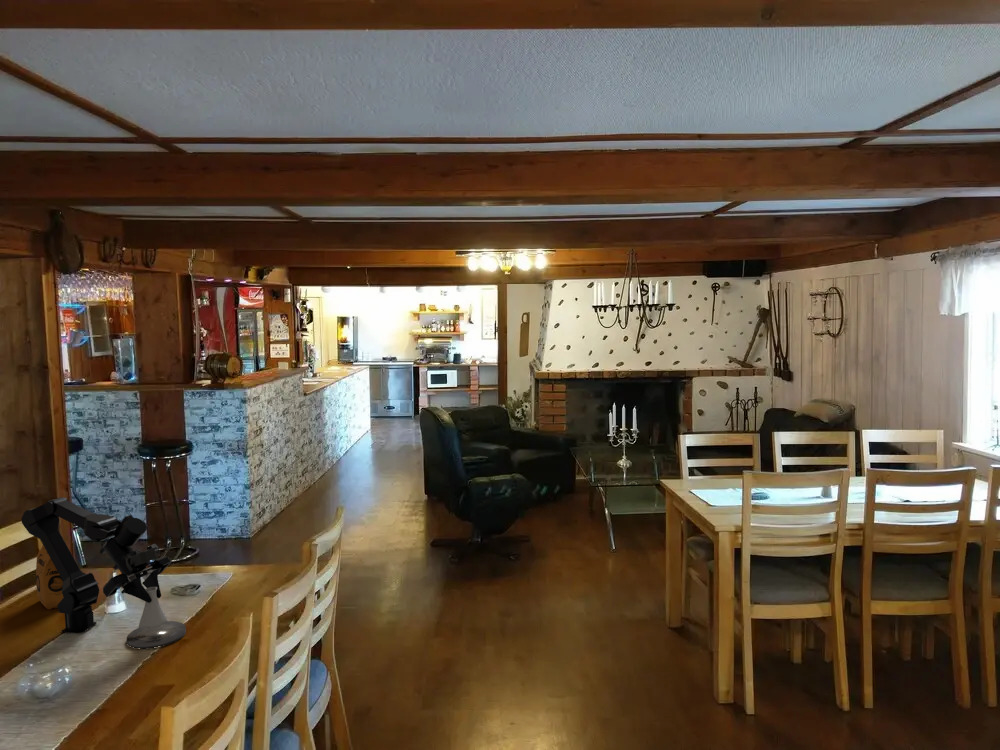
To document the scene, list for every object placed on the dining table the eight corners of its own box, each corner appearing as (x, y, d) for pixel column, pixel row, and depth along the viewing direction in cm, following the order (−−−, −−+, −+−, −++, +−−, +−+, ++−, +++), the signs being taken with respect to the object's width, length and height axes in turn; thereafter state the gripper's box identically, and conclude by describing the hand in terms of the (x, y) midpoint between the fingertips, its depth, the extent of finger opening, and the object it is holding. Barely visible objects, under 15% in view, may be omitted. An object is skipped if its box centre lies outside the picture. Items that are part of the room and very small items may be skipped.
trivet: (114, 648, 187) (114, 643, 187) (148, 624, 202) (148, 619, 202) (166, 650, 186) (165, 645, 186) (196, 625, 201) (196, 621, 201)
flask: (160, 629, 187) (158, 593, 186) (133, 630, 186) (131, 594, 185) (171, 617, 194) (169, 583, 193) (145, 618, 193) (143, 584, 193)
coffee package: (39, 612, 211) (35, 543, 209) (36, 600, 221) (31, 533, 219) (77, 604, 217) (73, 536, 215) (72, 592, 227) (68, 527, 225)
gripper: (109, 549, 181) (142, 595, 178) (165, 528, 198) (196, 570, 195) (88, 573, 184) (120, 620, 181) (145, 551, 201) (175, 593, 199)
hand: (155, 599), depth 189 cm, fingers closed on flask, 3 cm apart
